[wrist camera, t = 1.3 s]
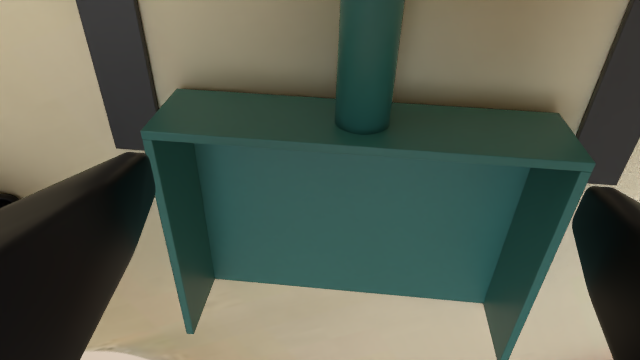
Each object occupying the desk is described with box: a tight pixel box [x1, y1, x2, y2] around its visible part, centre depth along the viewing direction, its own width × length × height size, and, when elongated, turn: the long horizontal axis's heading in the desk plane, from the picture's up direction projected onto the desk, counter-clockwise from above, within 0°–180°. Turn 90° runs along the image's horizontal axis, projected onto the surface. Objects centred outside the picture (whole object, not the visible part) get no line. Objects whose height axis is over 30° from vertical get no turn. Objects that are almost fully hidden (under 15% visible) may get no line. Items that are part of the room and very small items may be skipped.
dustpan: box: [140, 0, 595, 360], centre depth 19 cm, size 24×17×4 cm
